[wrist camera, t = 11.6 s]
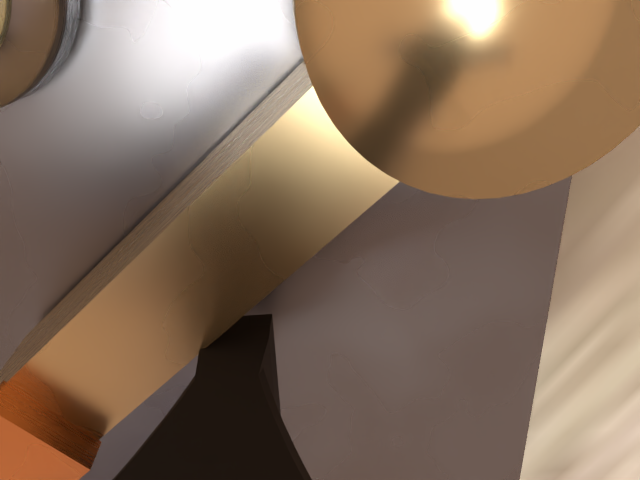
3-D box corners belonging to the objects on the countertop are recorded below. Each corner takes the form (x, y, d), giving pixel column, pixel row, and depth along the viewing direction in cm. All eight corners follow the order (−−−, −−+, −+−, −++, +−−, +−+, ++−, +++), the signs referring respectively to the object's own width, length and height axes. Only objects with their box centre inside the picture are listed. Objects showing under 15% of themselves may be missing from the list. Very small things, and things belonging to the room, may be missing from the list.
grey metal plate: (491, 462, 14) (534, 560, 12) (-246, 519, 14) (-361, 634, 11) (582, -188, 8) (704, -260, 6) (-726, -152, 8) (-1202, -217, 5)
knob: (478, -287, 6) (617, -484, 4) (647, 5, 8) (832, 13, 5) (-44, 282, 9) (-180, 404, 7) (156, 417, 11) (112, 561, 8)
